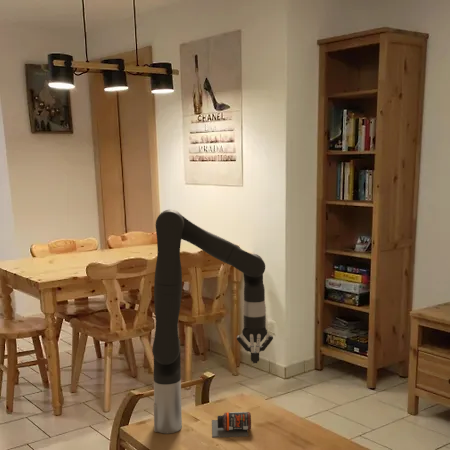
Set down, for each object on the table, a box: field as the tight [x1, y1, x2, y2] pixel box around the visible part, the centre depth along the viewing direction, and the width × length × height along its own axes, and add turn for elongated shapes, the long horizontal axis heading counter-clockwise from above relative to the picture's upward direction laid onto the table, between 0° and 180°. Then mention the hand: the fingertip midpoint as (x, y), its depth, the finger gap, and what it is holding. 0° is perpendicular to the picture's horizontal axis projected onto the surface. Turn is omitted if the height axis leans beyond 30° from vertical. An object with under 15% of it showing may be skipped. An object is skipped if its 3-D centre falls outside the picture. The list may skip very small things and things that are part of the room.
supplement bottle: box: [216, 411, 252, 431], centre depth 190 cm, size 6×6×11 cm
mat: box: [211, 419, 249, 439], centre depth 192 cm, size 12×12×1 cm
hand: (255, 362), depth 193 cm, fingers closed
